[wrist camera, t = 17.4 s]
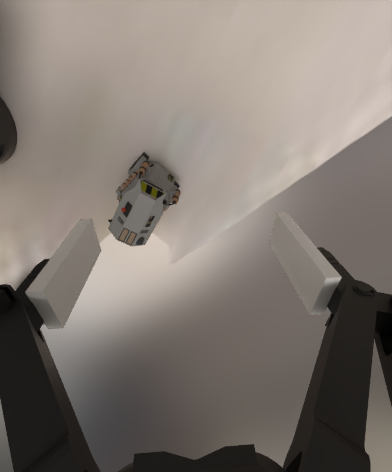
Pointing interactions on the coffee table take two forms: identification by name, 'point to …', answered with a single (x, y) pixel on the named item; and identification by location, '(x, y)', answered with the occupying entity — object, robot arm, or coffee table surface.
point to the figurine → (142, 201)
